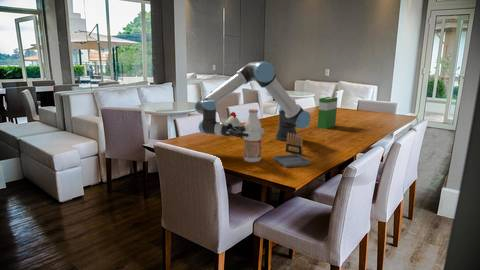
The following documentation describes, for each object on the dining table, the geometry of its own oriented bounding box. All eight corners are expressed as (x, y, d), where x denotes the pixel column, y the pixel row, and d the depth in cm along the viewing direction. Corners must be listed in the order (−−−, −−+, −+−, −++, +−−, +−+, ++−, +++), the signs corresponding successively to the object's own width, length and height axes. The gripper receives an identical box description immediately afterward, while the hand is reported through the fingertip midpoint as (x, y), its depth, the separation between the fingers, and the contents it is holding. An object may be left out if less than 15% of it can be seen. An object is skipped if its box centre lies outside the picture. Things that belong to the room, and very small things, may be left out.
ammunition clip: (302, 154, 193) (303, 134, 191) (301, 154, 192) (302, 134, 189) (287, 150, 200) (288, 131, 197) (285, 151, 199) (286, 132, 196)
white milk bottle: (240, 158, 183) (241, 109, 177) (255, 156, 188) (256, 108, 181) (249, 163, 175) (249, 111, 169) (264, 161, 179) (265, 110, 173)
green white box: (327, 124, 282) (329, 96, 276) (335, 125, 277) (337, 97, 272) (317, 127, 269) (319, 98, 263) (325, 129, 264) (327, 99, 259)
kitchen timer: (229, 133, 244) (229, 114, 241) (220, 130, 255) (220, 111, 252) (245, 131, 251) (245, 112, 248) (235, 128, 263) (235, 110, 259)
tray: (297, 157, 187) (297, 153, 187) (310, 164, 174) (310, 161, 173) (273, 159, 182) (273, 156, 182) (285, 167, 169) (285, 163, 169)
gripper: (234, 131, 197) (267, 135, 187) (213, 140, 176) (249, 145, 167) (234, 119, 195) (267, 122, 186) (212, 126, 175) (249, 130, 165)
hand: (259, 133), depth 176 cm, fingers open, 11 cm apart
